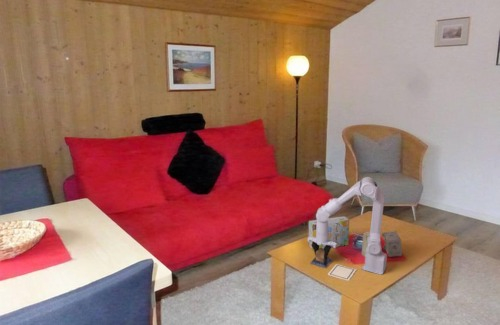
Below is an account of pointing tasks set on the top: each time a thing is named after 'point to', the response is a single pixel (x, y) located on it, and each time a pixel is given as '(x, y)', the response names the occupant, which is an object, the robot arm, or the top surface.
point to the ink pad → (321, 263)
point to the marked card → (342, 272)
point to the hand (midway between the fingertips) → (321, 257)
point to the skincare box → (364, 242)
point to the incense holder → (392, 243)
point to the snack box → (333, 231)
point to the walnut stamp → (320, 255)
